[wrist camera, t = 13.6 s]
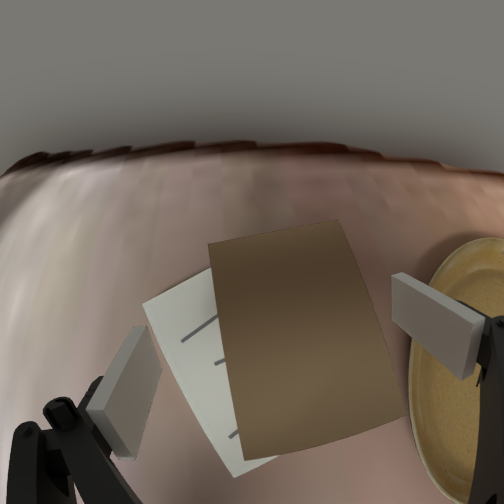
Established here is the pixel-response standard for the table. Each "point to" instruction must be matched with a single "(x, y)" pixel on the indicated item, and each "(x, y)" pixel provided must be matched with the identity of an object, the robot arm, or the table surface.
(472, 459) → the plant saucer
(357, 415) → the block
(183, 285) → the board
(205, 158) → the table surface
